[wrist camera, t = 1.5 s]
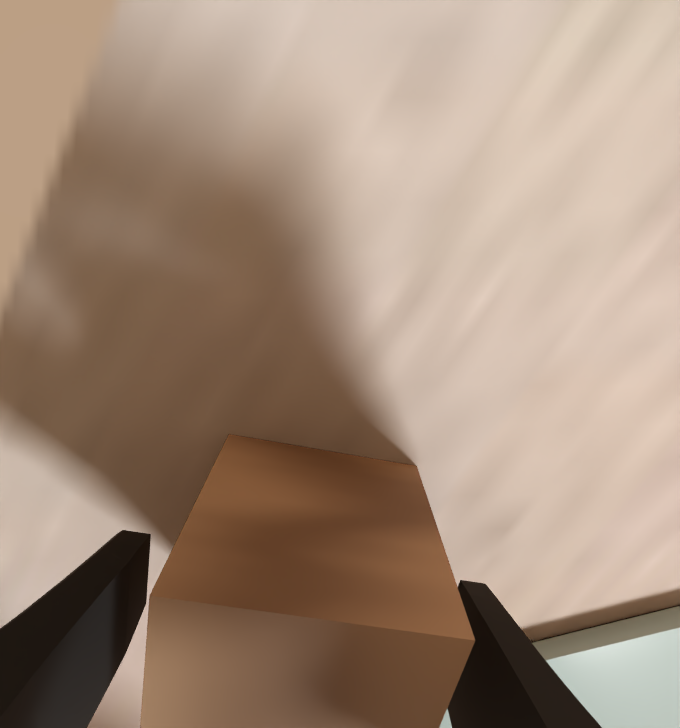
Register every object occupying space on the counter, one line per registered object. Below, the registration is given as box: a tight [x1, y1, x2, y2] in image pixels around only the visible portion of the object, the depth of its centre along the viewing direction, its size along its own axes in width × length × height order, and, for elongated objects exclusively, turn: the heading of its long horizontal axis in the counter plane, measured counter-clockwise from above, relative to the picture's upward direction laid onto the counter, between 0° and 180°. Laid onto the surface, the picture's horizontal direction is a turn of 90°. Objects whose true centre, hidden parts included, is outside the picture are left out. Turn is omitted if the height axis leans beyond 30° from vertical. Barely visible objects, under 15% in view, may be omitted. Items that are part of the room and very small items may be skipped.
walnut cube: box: [140, 434, 475, 728], centre depth 10 cm, size 5×5×5 cm
